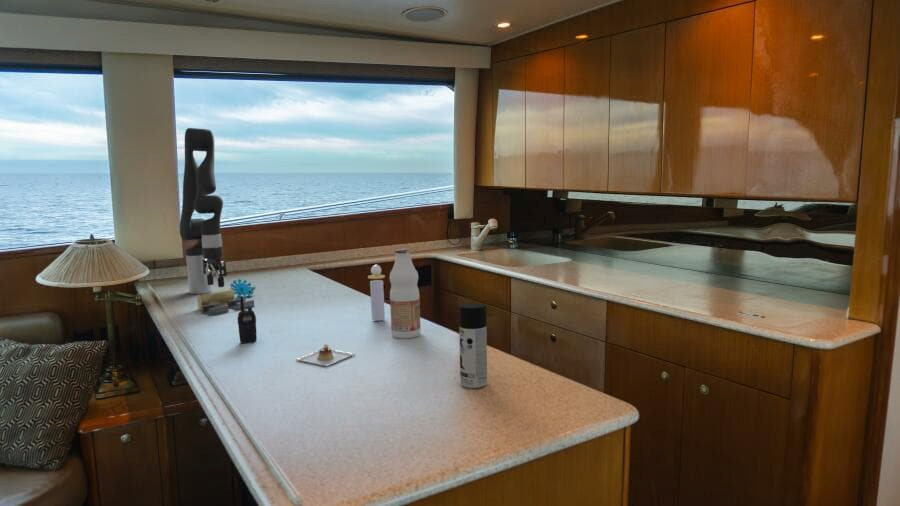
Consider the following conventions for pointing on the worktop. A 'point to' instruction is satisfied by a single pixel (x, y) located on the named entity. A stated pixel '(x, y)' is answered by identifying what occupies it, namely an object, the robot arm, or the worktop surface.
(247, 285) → the gear
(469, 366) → the spray can
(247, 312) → the two-way radio
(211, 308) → the grey u-channel block
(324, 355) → the dessert
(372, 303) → the perfume bottle
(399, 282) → the fruit juice
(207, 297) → the link bar
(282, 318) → the worktop surface
